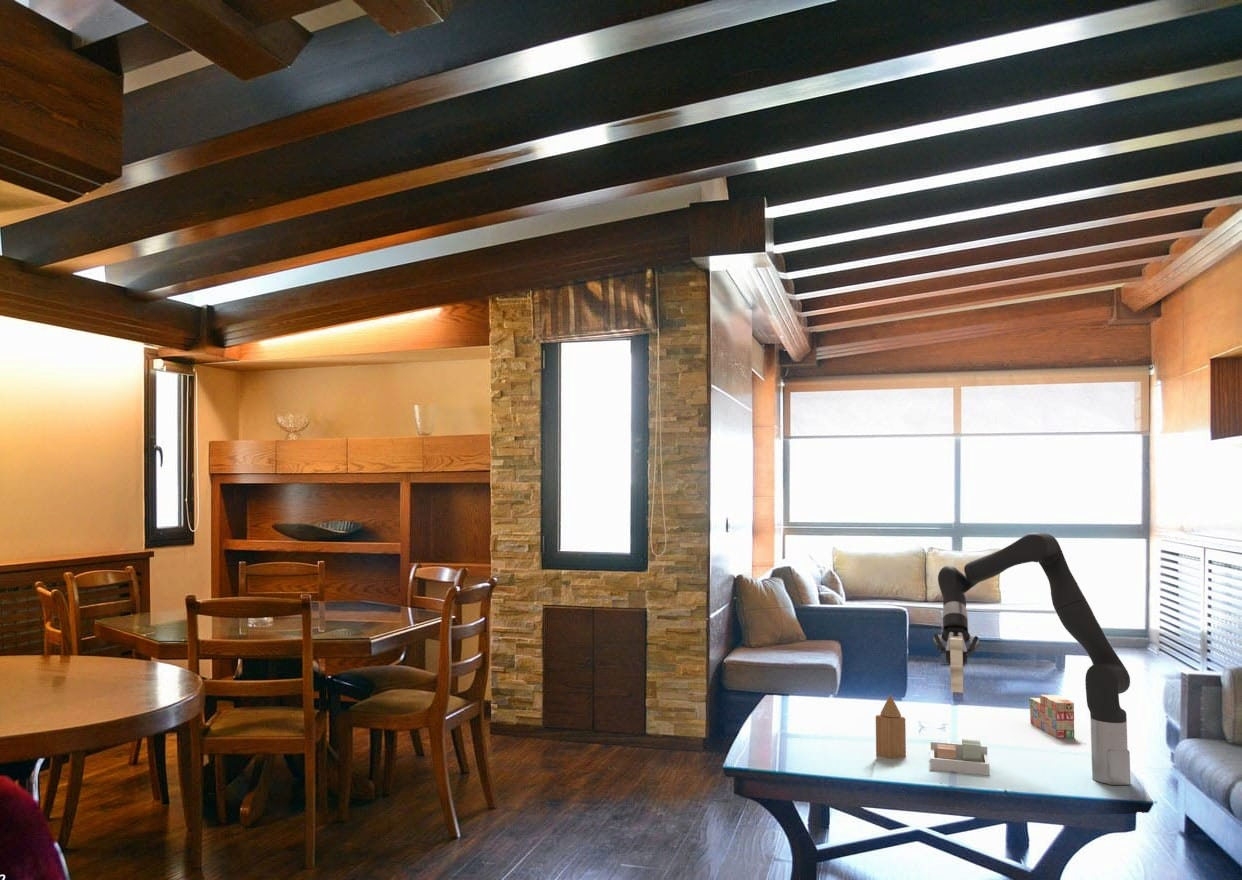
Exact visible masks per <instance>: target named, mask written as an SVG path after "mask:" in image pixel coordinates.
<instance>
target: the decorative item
mask: <svg viewBox="0 0 1242 880" xmlns="http://www.w3.org/2000/svg"><path fill="white" fill-rule="evenodd" d="M906 732H907V731H906V718H905V717H904V716H902V715H901V712H900V710H899V708H898V706H897V704H896V701H895V700H894V698H893V696H892V694H891V693H890V694H889V695H888V697H887V700H886V701H885V703H884V706H883V707H882V708H881V711H880V714H877V715H875V757H876V758H878V755H879V756H881V757H884V758H887V759H891V760H892V759H898V758H905V757H906V756H907V748H906V747H907V743H906V742H907V741H906V737H907V735H906V734H907V733H906Z"/></svg>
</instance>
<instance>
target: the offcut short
mask: <svg viewBox="0 0 1242 880" xmlns="http://www.w3.org/2000/svg"><path fill="white" fill-rule="evenodd" d="M938 758H940V759H950V760H956V750H955V746H953V745H942V744H938Z"/></svg>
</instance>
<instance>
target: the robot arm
mask: <svg viewBox="0 0 1242 880" xmlns="http://www.w3.org/2000/svg"><path fill="white" fill-rule="evenodd" d="M1027 563H1039V565H1040V567H1041V569H1042V570H1043V572H1044V574H1045V575H1046V577H1047V580H1048V582H1049V589H1050V595H1051V597H1050V598H1051V601H1052V606H1053V608H1054V611H1055V613H1056V615H1057V616H1058V618H1059V620H1060V622H1061V624H1062V625H1063V627H1064V629H1065V630H1066V631H1067V632H1068V633H1069V635H1071V636H1072V637H1073V638H1074V639H1075V641H1077V642H1078V643H1079V644H1080V645H1081V647H1083V649H1084V650H1085V651H1086V653H1087V655H1088V657H1089V658H1090V660H1091V662H1092V665H1091V666H1089V667H1088V669H1087V670H1086V674H1085V679H1084V680H1085V682H1084V683H1085V684H1084V685H1085V696H1086V705H1087V709H1088V710H1089V714H1090V719H1089V720H1090V745H1091V746H1090V748H1091V751H1090V752H1091V778H1092V780H1095V782H1099V783H1103V784H1108V785H1110V786H1120V785H1121V786H1126V785H1127V786H1129V785H1131V784H1132V782H1131V781H1132V780H1131V779H1132V778H1131V754H1130V750H1129V749H1128V748H1129V747H1128V725H1127V724H1128V722H1127V719H1128V718H1127V712H1126V710H1124V709H1123V708H1122V707H1121V706H1120V697H1119V696H1120V695H1121V694H1123V693H1126V691H1128V690H1129V688H1130V685H1131V677H1130V675H1129V672H1128V670H1127V668H1126V667H1125V665H1124V664H1123V662H1122V661H1121V660H1122V659H1120V658H1119V656H1118V654H1117V653H1116V651H1115V650H1114V649H1113V646H1112V645H1111V644H1110V642H1109V640H1108V639H1107V637H1106V635H1105V632H1104V631H1103V629H1102V627H1101V625H1100V624H1099V622H1098V620H1097V618H1096V616H1095V614H1094V612H1093V609H1092V608H1091V606H1090V604H1089V602H1088V600H1087V598H1086V597H1085V595H1084V594H1083V592H1082V590H1081V588H1080V586H1079V585H1078V583H1077V581H1076V579H1075V576H1073V574H1072V571H1071V570H1070V567H1069V565H1068V562H1067V560H1066V558H1065V555H1064V553H1063V551H1062V548H1061V546H1060V544H1059V541H1058V540H1057V538H1055V536H1053V535H1052V534H1050V533H1047V532H1029V533H1028V534H1025V535H1023V536H1022V537H1021V538H1019V539H1017V540H1016V541H1014V542H1013V543H1011V544H1009V545H1007V546H1006V547H1004V548H1002V549H1000V550H997V551H995V552H992V553H990V554H987V555H984V556H982V557H979V558H977V559H974V560H972V561H969V562H968V563H966V564H964V568H963V572H964V574H963V573H962V572H961V571H960V570H959V569H958V568H956V567H955V566H953V565H945V566H943V567H941V569H939V572H938V575H937V582H938V586H939V590H940V593H941V596H942V603H943V605H942V606H943V609H942V632H941V633H940V634H937V633H934V634H933V642H934V643H935V646H936V647H937V650H938V651H939V653H940V654H945V663H946V664H947V665H949V666H950V665H951V660H950V636H959V637H962V649H963V667H964V666H966V665H967V664H968V656H973V655H974V652H975V651H976V648H977V646H978V644H979V635H978V636H977V635H975V636H973V635H971V634H970V632H969V625H968V623H969V619H968V618H969V617H968V611H967V598H966V595H965V594H966V593H967V592H968V591H970V590H971V589H972V588H973V587H975V586H976V585H977V584H979V583H981V582H983V581H987V580H988V579H991V578H994V577H996V576H998V575H999V574H1001V573H1003V572H1005V571H1006V570H1008V569H1010V568H1012V567H1014V566H1017V565H1022V564H1027ZM942 640H943V641H944V642H945V643H946V646H945V647H944V645H943V643H942ZM969 641H970V645H969V647H968V648H967V646H966V644H967V643H968V642H969Z"/></svg>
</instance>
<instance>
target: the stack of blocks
mask: <svg viewBox="0 0 1242 880" xmlns="http://www.w3.org/2000/svg"><path fill="white" fill-rule="evenodd" d="M1029 715H1030V716H1029V717H1030V724H1032V725H1034V726H1035V727H1036V728H1038V729H1040V730H1042V731H1043V732H1045V733H1047V734H1048V735H1050V736H1052V737H1054V738H1055V739H1075V702H1073V701H1070V699H1067V698H1065V697H1063V696H1060V695H1058V694H1040V695H1039V697H1029Z"/></svg>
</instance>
